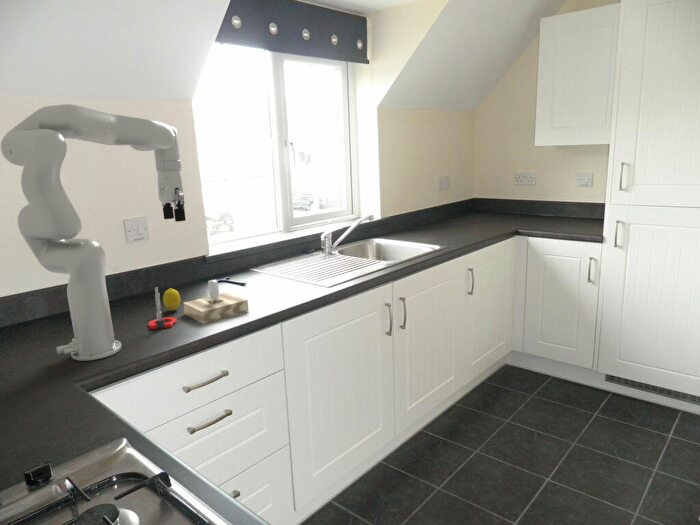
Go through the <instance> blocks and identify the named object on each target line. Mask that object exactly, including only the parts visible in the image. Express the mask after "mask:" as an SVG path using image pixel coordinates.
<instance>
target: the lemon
mask: <svg viewBox="0 0 700 525" xmlns="http://www.w3.org/2000/svg"><path fill="white" fill-rule="evenodd" d="M162 298H163V299H162V300H163V301H162V302H163V305H164V306H165V308H166V309H168V310H171V311H172V312H174V311H175V310H176V309H177V308H179V306H180V305H181V302H182V301H181V295H180V293H179V291H178V290H176V289H174V288H172V287H169V288H168V289H167V290H165V291H164V293H163V297H162Z"/></svg>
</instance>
